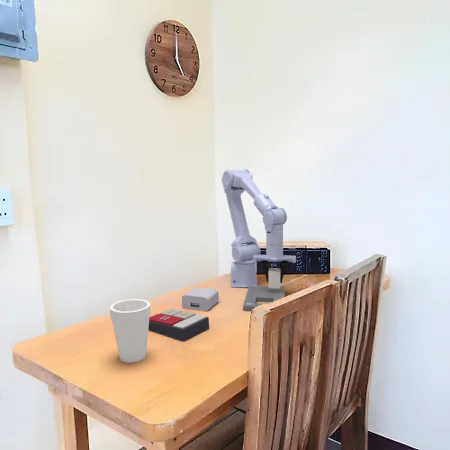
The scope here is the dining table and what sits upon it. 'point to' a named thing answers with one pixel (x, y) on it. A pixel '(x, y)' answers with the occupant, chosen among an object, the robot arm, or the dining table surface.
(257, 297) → the socket board
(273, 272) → the charger
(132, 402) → the dining table surface
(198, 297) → the charger
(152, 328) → the black button box
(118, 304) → the foam cup
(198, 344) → the dining table surface
